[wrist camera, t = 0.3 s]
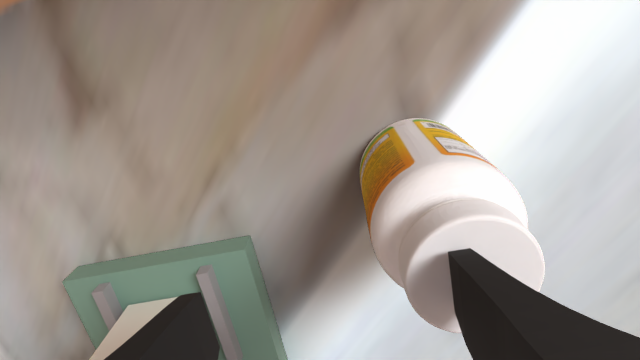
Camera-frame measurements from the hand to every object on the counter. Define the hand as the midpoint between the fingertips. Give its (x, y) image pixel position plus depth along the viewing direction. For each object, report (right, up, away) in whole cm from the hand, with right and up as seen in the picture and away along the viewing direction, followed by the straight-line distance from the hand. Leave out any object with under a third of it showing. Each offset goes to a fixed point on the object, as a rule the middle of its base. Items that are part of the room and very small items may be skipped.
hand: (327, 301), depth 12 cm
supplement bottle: (+4, +4, +9) cm, 11 cm away
